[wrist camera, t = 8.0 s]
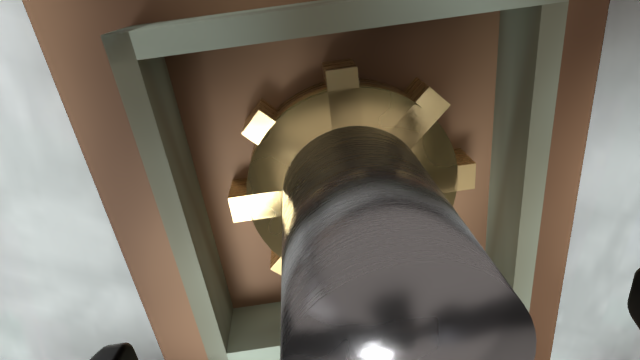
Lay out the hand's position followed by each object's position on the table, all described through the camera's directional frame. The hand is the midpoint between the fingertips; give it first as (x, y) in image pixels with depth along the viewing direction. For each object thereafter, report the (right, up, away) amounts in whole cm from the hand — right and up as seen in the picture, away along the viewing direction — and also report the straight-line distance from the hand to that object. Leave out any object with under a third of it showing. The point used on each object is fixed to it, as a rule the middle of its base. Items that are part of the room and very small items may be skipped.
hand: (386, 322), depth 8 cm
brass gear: (0, +3, +6) cm, 6 cm away
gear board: (0, +1, +7) cm, 7 cm away
